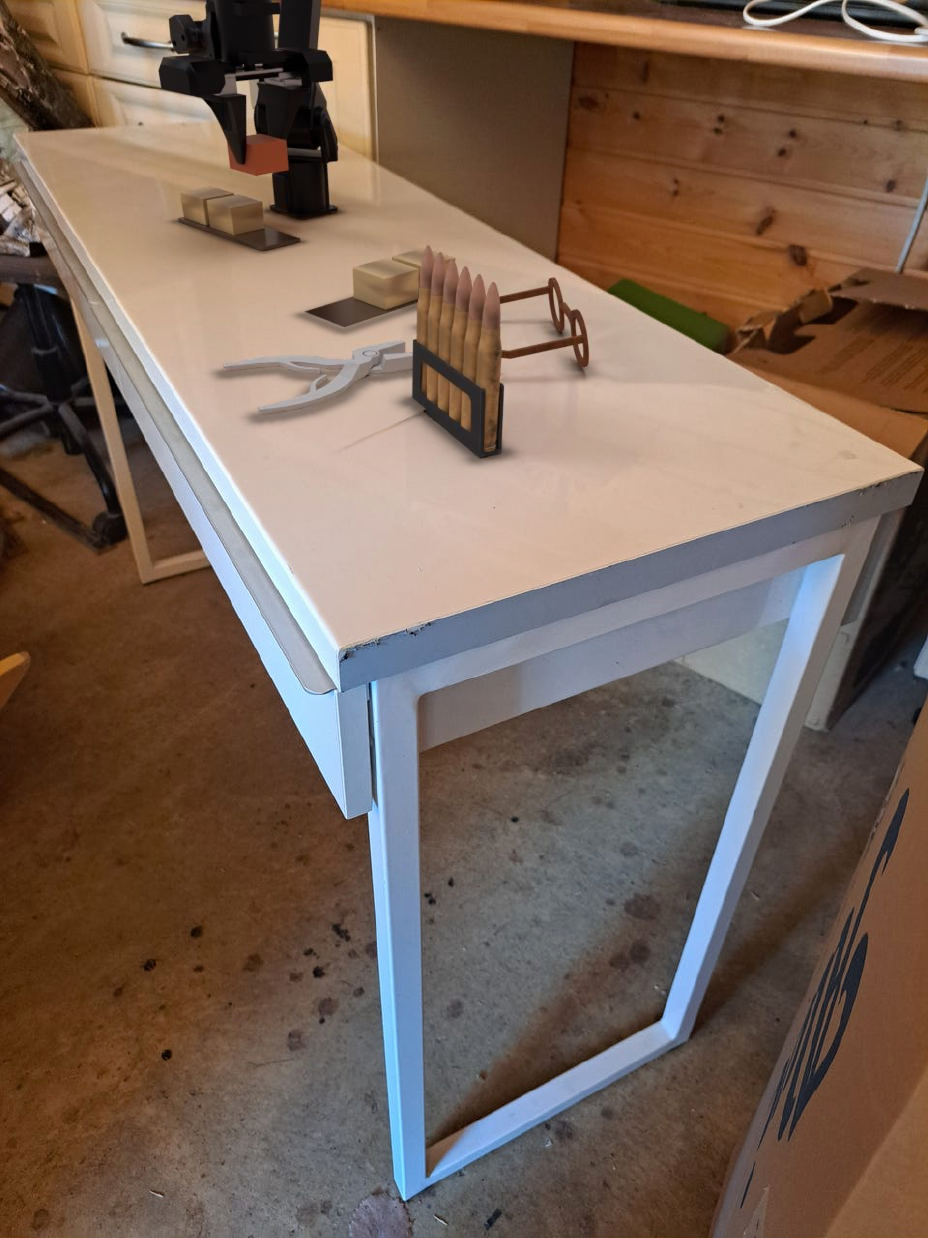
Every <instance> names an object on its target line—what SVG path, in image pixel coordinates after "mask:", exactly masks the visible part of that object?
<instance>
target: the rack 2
mask: <svg viewBox="0 0 928 1238" xmlns="http://www.w3.org/2000/svg"><path fill="white" fill-rule="evenodd" d="M425 249H426V247H421V248H417V249H414V250H410V251H406V252H403V253H400V254H396V255H392V256H391V259H390V258H381V259H378V260H376V261H370V262H368V263H364V264H360V265H357V266H353V267H352V268H351V269H352V289H353V291H352V292H353V296H350V297H346V298H343V299H340V300H337V301H334V302H330V303H327V304H324V305H320V306H318V307H314V308H311V309H308V310H305V311H304V313H306V314H309V315H311V316H314V317H317V318H319V319H322V320H324V321H327V322H329V323H331V324H335V325H336V326H339V327H342V328H347V327H349V326H352V325H355V324H358V323H361V322H364V321H368V320H371V319H373V318H377V317H380V316H383V315H385V314H388V313H391V312H395V311H397V310H400V309H403V308H407V307H410V306H413V305H415V304H418V299H419V286H420V271H421V263H422V258H423V254H424V251H425ZM439 252H440V251H435V250H432V253H433V256H434V261H435V260H436V257H437V255H438V253H439ZM442 254H443V257H444V260H445V264H446V269H447V268H448V265H449V263H450V261H451V259H454V260H455V261H456V257H454V256H451V255H448V254H445V253H442Z"/></svg>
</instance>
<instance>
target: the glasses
mask: <svg viewBox="0 0 928 1238" xmlns="http://www.w3.org/2000/svg"><path fill="white" fill-rule="evenodd" d="M554 292H555V296H556V299H557V300H556V301H557V306H558V315H557V312H556V311H557V310H556V306H555V298H554V297H555V296H554ZM545 295H548V303H549V304H548V305H549V309H550V314H551V319H552V322H553V325H554V327H555V329H556V331H557V332H563V331H564V330H565V326H566V325H565V323H566V322H565V320H566V319H565V317H566V318H567V320H568V322H569V326H570V336H569V337H564V338H561V339H556V340H551V341H546V342H542V343H538V344H537V343H536V344H533V345H532V344H531V345H528V346H524V347H519V348H513V349H510V350H508V349H507V350H505V349H502V356H501V359H508V360H512V359H517V358H521V357H525V356H526V357H527V356H530V355H536V354H540V353H544V352H548V351H554V350H558V349H563V348H567V347H572V348H573V353H574V356H575V358H576V361H577V363H578V365H579V366H580V367H581V368H587V367H588V366H589V362H590V346H589V338H588V332H587V331H588V330H587V327H586V323H585V320H584V317H583V315H582V313H581V311H580V310H579V309H578V308H576V309H572V310H571V308H570V307H569V306H568V303H566V301H564V299H563V294H562V290H561V287H560V285H559V282H558V280H557V278H556V277H554V276H553V277H549V278H548V280H547V286H546V285H545V286H541V287H536V288H532V289H528V290H523V291H518V292H513V293H509V294H505V295H499V299H500V305H503V304H506V303H512V302H516V301H521V300H526V299H530V298H536V297H539V296H545ZM577 323H578V327H579V330H580V334H579V335H577ZM580 344H582V354H581V350H580V347H579V345H580Z"/></svg>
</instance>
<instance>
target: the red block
mask: <svg viewBox="0 0 928 1238" xmlns="http://www.w3.org/2000/svg"><path fill="white" fill-rule="evenodd" d="M226 145H227V153H228V160H229V161H228V162H229V169H230V170H234V171H238V172H240V173H244V174H247V175H251V176H255V177H259V176H264V175H270V174H272V173H276V172H281V171H286V170H289V167H288V155H287V143H286V140H283V139H279V138H275V137H271V136H267V135H263V134H256V133H255V134H249V135H247V150H246V160H245V164H244V165H241V164H238V163H237V162H236V160H235V158H234V156H233V153H232V151H231V149H230V146H229V144H228V142H227V141H226Z"/></svg>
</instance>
